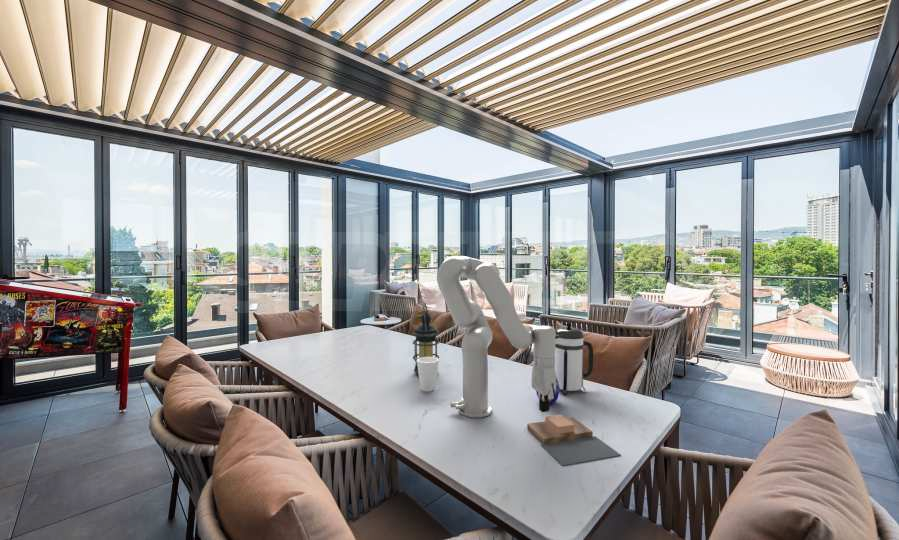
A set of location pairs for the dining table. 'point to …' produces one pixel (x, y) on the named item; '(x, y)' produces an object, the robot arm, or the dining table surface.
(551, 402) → the ornament
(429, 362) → the foam cup
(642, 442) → the dining table surface
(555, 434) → the deck
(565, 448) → the mat
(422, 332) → the lantern
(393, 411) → the dining table surface
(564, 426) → the tile
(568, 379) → the coffee press
